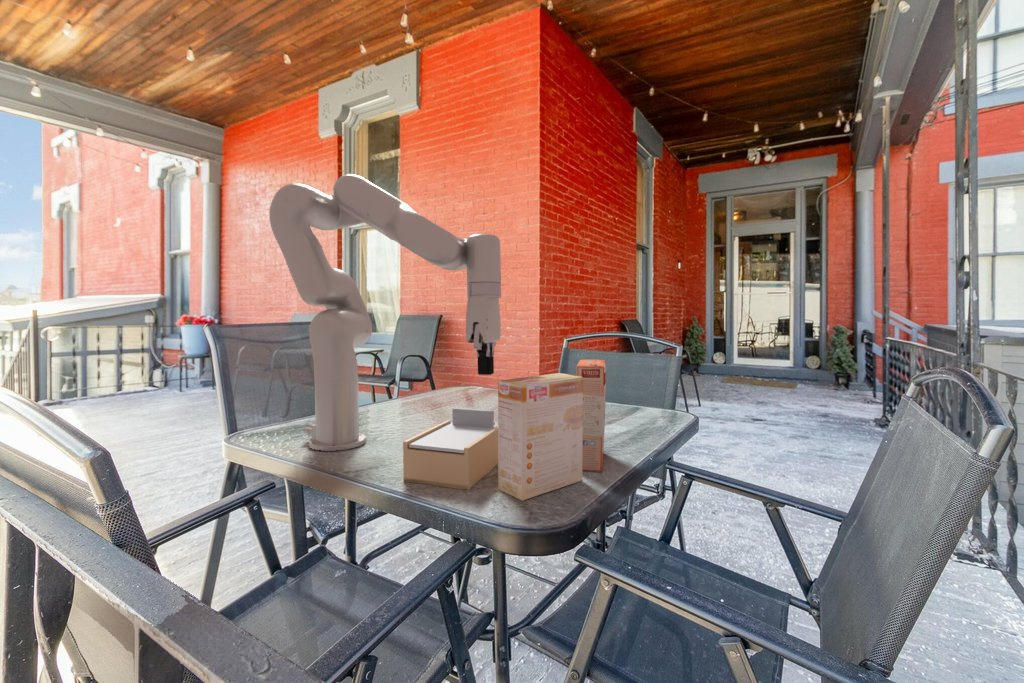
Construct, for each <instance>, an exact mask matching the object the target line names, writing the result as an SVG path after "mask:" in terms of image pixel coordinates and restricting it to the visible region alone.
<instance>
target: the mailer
mask: <svg viewBox="0 0 1024 683" xmlns="http://www.w3.org/2000/svg"><path fill="white" fill-rule="evenodd" d="M450 423H452V421H451V420H450V419H447V420H444V421H443V422H441V423H438V424H436V425H435V426H432V427H430V428H428V429H426V430H424V431H422V432H419V433H417V434H415V435H414V436H412V437H409V438H407V439H406V440H404V441H402V450H403V451H402V454H403V455H402V458H403V459H402V460H403V462H402V463H403V465H402V466H403V468H402V471H403V472H402V473H403V482H410V483H415V484H421V485H422V484H423V485H428V486H429V485H430V486H435V487H436V486H438V487H445V488H451V489H452V488H453V489H461V490H470V489H472V488H473V486H475V485H476V484H477V483H479V482H480V481H481V479H482V478H484V477H486V475H488V474H489V472H491V470H493V469H494V468H495V467H496V466H498V425H497V426H494V427H495V428H494V429H492V430H491V431H489V432H488V433H486V434H485V435H483V436H481V437H480V438H478V439H477V440H475V441H474V442H472V443H471V444H469V445H468V446H466V447H465V448H464V453H456V452H446V451H437V450H428V449H419V448H410V447H409V444H411V443H413V442H415V441H417V440H419V439H421V438H423V437H425V436H427V435H429V434H431V433H433V432H435V431H437V430H439V429H441V428H443V427H444V426H446V425H448V424H450Z"/></svg>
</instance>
